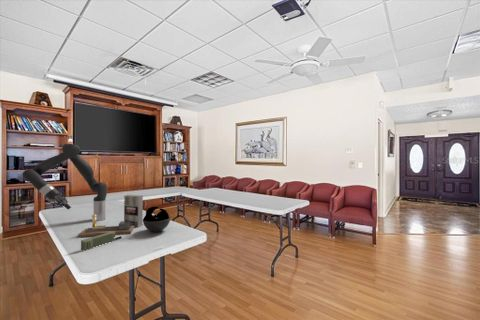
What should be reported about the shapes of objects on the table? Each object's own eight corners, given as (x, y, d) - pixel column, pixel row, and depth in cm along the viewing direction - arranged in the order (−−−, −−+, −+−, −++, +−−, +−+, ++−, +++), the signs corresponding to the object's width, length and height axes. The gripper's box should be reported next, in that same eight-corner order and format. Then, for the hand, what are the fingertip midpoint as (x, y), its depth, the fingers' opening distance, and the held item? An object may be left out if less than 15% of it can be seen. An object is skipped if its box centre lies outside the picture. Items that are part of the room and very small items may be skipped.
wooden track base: (85, 231, 174) (85, 226, 174) (134, 227, 183) (134, 223, 183) (78, 237, 161) (78, 232, 161) (130, 233, 170) (130, 228, 170)
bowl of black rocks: (143, 228, 183) (143, 204, 182) (169, 226, 190) (169, 203, 189) (142, 236, 164) (142, 210, 164) (171, 233, 171) (171, 208, 171)
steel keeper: (120, 227, 177) (120, 221, 177) (130, 227, 179) (130, 220, 179) (118, 230, 171) (118, 223, 171) (129, 229, 173) (129, 223, 173)
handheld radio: (80, 250, 140) (119, 238, 161) (82, 252, 138) (122, 239, 159) (80, 239, 140) (120, 228, 161) (83, 241, 138) (122, 229, 159)
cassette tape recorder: (123, 226, 188) (123, 195, 188) (128, 223, 194) (128, 194, 194) (137, 227, 185) (137, 196, 185) (142, 225, 191) (142, 195, 191)
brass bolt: (92, 230, 171) (92, 214, 170) (105, 229, 173) (105, 213, 173) (91, 231, 168) (91, 215, 168) (104, 230, 170) (104, 214, 170)
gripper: (49, 189, 156) (69, 206, 159) (58, 186, 169) (77, 202, 172) (39, 197, 155) (61, 214, 158) (50, 194, 167) (69, 210, 171)
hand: (69, 208), depth 165 cm, fingers closed
